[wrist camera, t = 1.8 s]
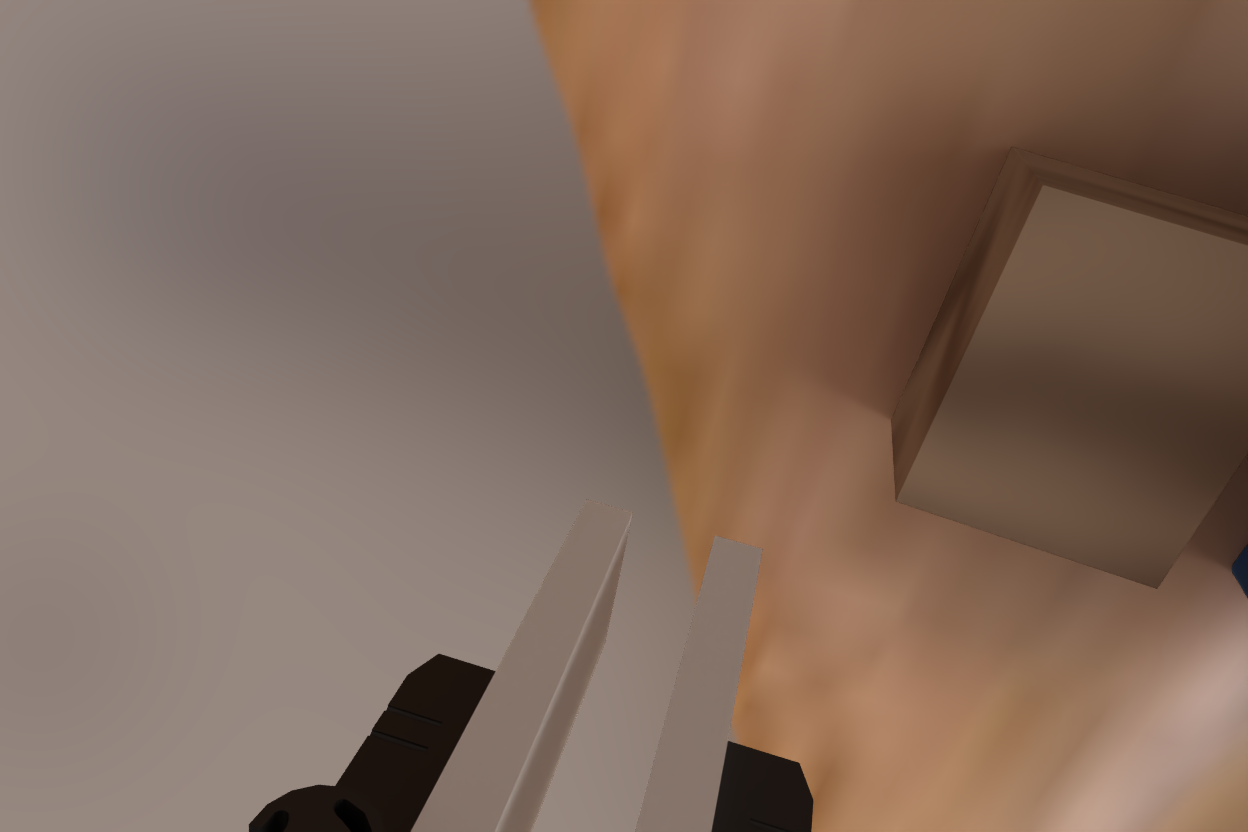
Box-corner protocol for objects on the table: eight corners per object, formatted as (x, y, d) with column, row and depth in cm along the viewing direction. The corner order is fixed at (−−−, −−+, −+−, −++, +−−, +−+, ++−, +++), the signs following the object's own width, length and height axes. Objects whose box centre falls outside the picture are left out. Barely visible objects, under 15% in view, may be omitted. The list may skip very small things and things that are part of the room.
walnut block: (1011, 146, 29) (1043, 184, 24) (1270, 221, 28) (1363, 280, 23) (891, 417, 34) (895, 501, 28) (1110, 489, 33) (1157, 588, 28)
